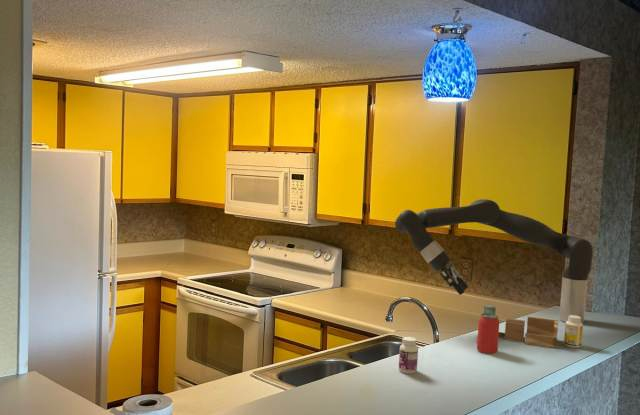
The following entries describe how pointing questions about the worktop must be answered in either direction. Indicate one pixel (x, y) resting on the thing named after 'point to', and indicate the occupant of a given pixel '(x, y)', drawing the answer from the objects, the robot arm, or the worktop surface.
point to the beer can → (488, 333)
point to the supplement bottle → (573, 332)
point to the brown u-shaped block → (541, 332)
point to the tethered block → (509, 326)
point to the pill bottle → (408, 355)
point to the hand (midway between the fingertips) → (464, 290)
